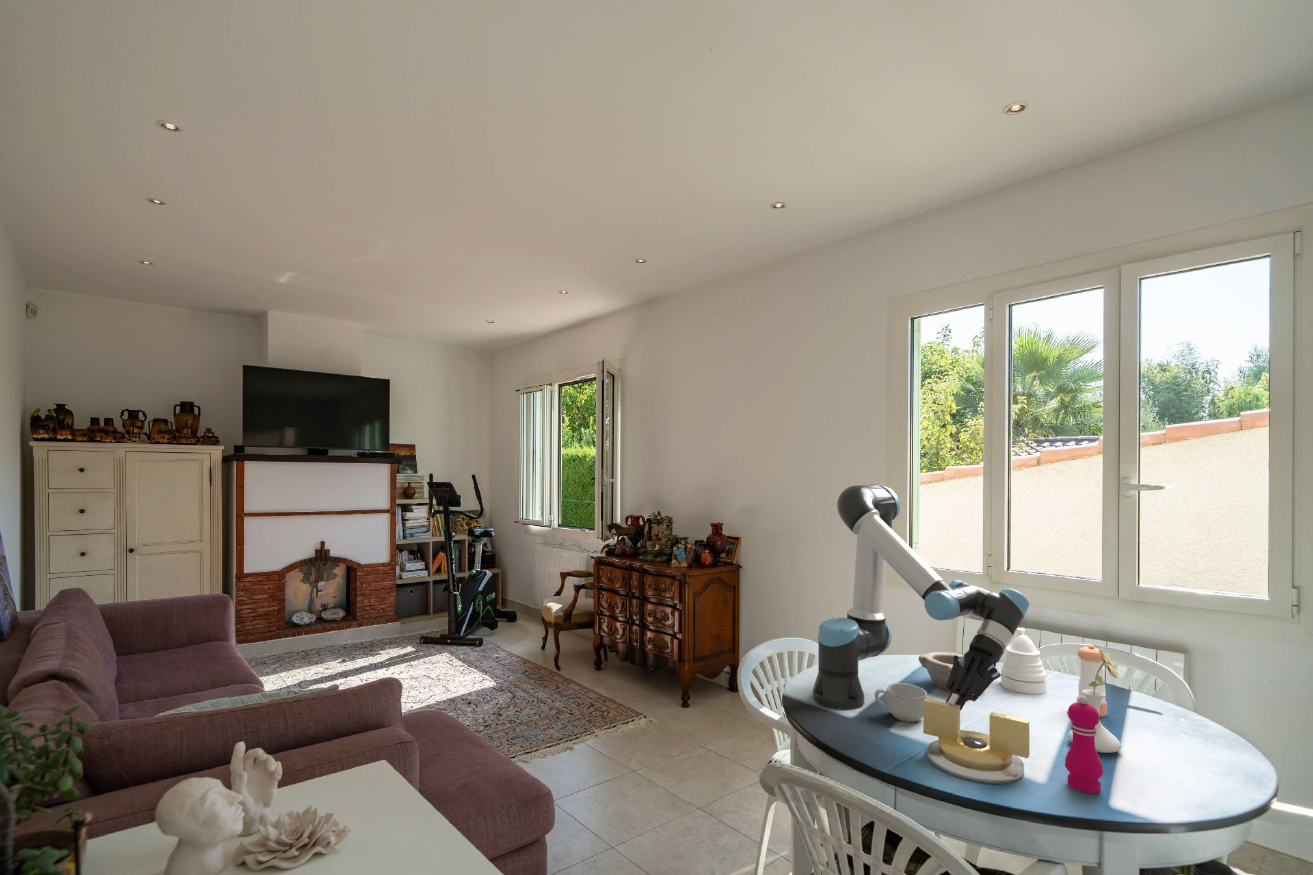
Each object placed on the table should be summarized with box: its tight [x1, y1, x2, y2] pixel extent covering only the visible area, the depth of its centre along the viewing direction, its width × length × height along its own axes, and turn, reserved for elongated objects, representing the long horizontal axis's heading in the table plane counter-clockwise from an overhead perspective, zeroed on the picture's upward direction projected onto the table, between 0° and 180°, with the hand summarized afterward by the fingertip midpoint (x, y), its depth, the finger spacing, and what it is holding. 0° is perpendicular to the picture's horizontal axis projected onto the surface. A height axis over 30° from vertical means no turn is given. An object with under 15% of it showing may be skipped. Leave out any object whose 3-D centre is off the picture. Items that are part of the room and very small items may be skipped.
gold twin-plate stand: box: [922, 697, 1030, 770], centre depth 162 cm, size 18×17×10 cm
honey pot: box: [1000, 627, 1047, 695], centre depth 217 cm, size 13×13×18 cm
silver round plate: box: [927, 739, 1025, 785], centre depth 162 cm, size 21×21×2 cm
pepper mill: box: [1064, 696, 1104, 794], centre depth 150 cm, size 7×7×20 cm
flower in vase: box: [1067, 647, 1122, 754], centre depth 172 cm, size 13×11×25 cm
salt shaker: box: [1076, 644, 1108, 717], centre depth 196 cm, size 7×7×19 cm
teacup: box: [874, 682, 928, 723], centre depth 190 cm, size 14×11×8 cm
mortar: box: [918, 651, 965, 691], centre depth 216 cm, size 17×17×9 cm
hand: (945, 718), depth 167 cm, fingers closed
